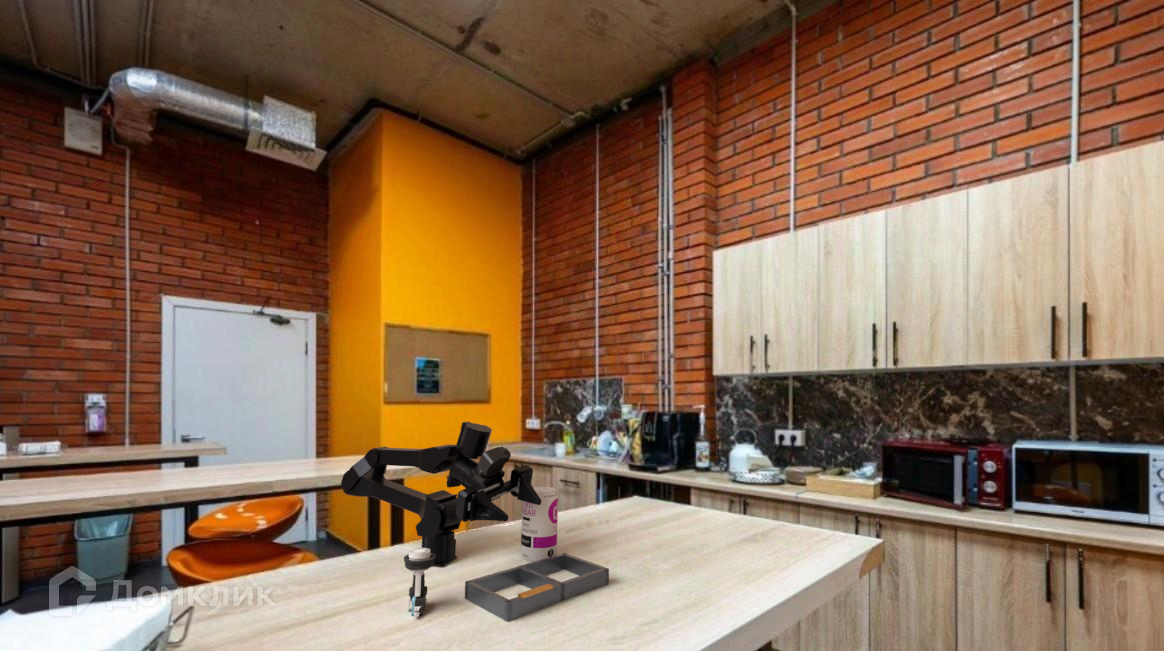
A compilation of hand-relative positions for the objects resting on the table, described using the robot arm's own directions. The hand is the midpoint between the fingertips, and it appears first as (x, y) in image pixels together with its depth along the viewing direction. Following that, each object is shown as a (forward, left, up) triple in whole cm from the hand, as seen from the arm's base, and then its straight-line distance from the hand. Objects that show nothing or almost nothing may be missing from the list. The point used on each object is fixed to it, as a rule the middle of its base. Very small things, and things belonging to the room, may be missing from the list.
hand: (524, 510), depth 109 cm
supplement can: (-3, +17, -15) cm, 23 cm away
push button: (-13, -17, -15) cm, 26 cm away
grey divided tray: (+4, -1, -14) cm, 15 cm away
